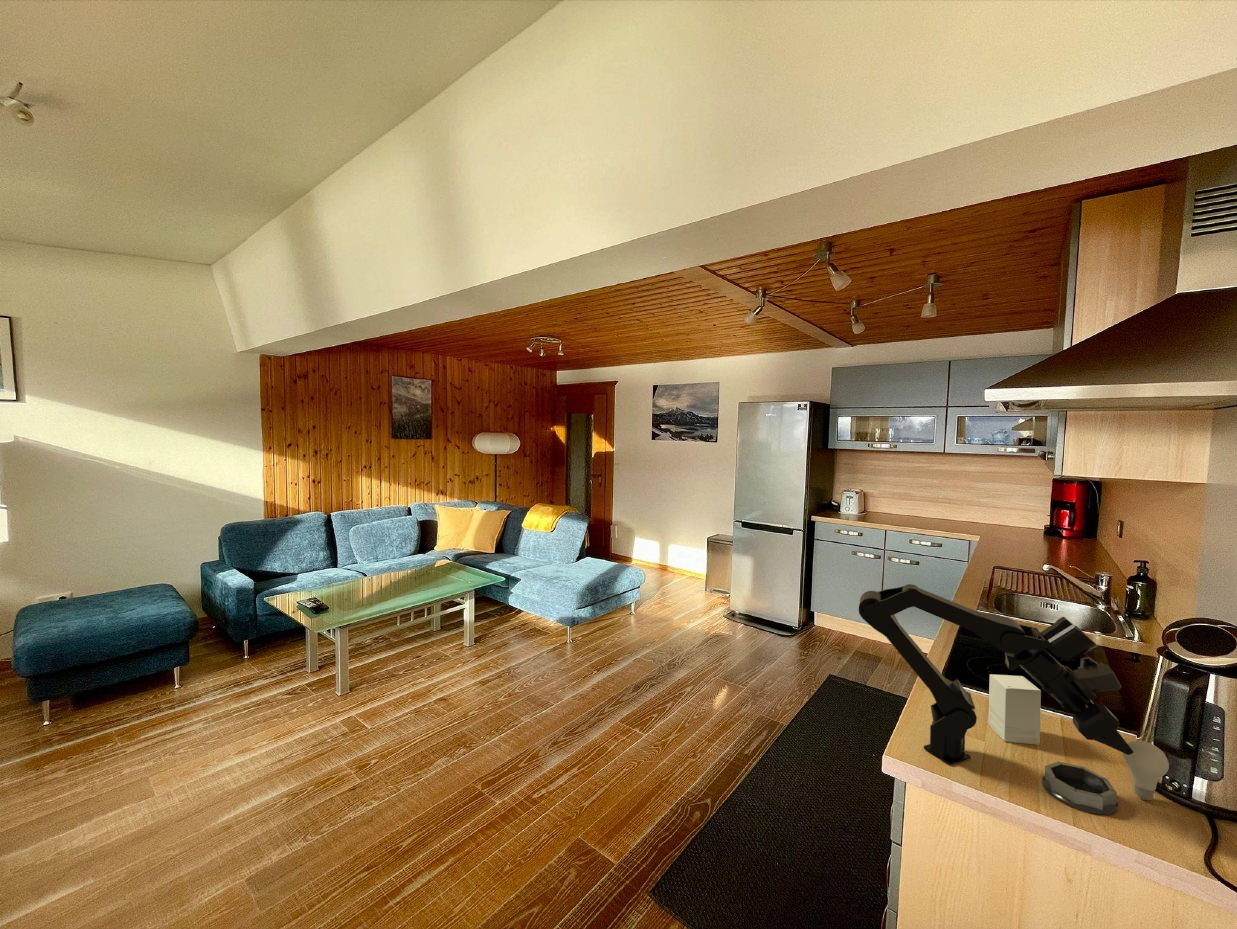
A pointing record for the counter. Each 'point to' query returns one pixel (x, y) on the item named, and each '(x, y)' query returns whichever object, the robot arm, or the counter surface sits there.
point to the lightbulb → (1146, 767)
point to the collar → (1080, 788)
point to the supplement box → (1014, 709)
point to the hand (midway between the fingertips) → (1120, 740)
